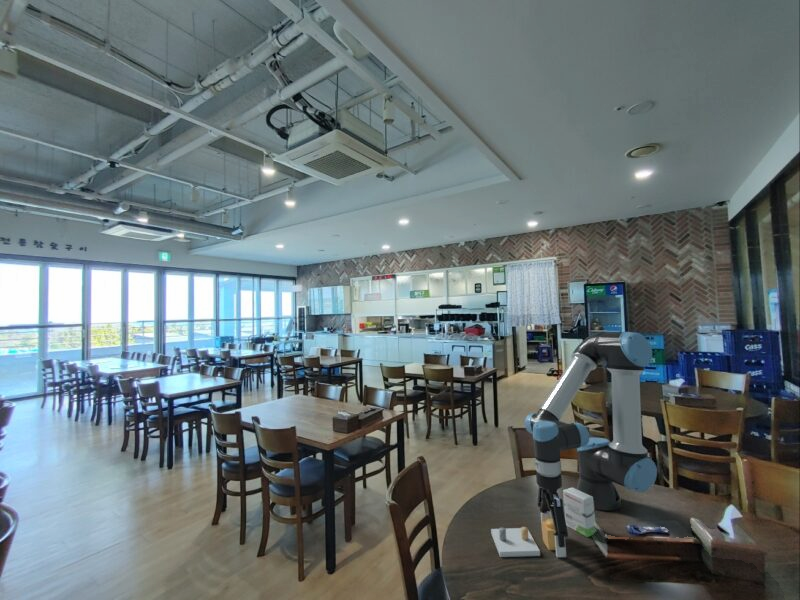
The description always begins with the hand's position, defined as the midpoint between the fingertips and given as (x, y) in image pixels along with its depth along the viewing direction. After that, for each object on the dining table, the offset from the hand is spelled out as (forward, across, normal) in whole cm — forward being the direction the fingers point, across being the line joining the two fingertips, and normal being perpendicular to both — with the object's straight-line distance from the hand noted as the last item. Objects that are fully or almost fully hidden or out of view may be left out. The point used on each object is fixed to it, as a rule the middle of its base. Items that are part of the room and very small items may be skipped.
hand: (553, 544), depth 112 cm
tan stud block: (0, 0, 0) cm, 0 cm away
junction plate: (0, -1, -12) cm, 12 cm away
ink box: (0, -8, +12) cm, 15 cm away
